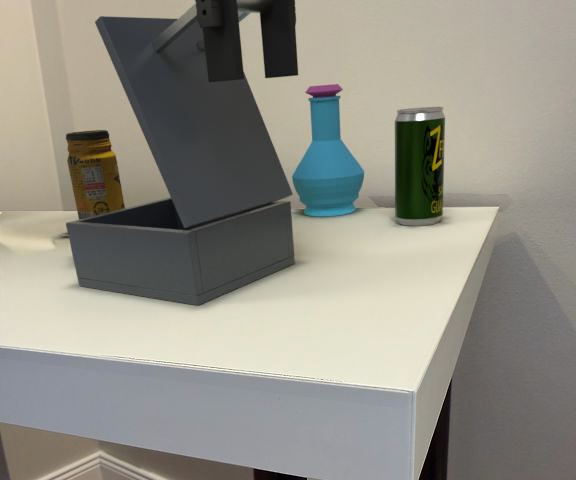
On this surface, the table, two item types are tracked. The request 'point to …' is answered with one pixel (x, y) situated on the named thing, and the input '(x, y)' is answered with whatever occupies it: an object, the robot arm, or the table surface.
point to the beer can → (419, 165)
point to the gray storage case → (180, 250)
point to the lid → (195, 116)
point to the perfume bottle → (327, 160)
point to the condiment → (93, 173)
